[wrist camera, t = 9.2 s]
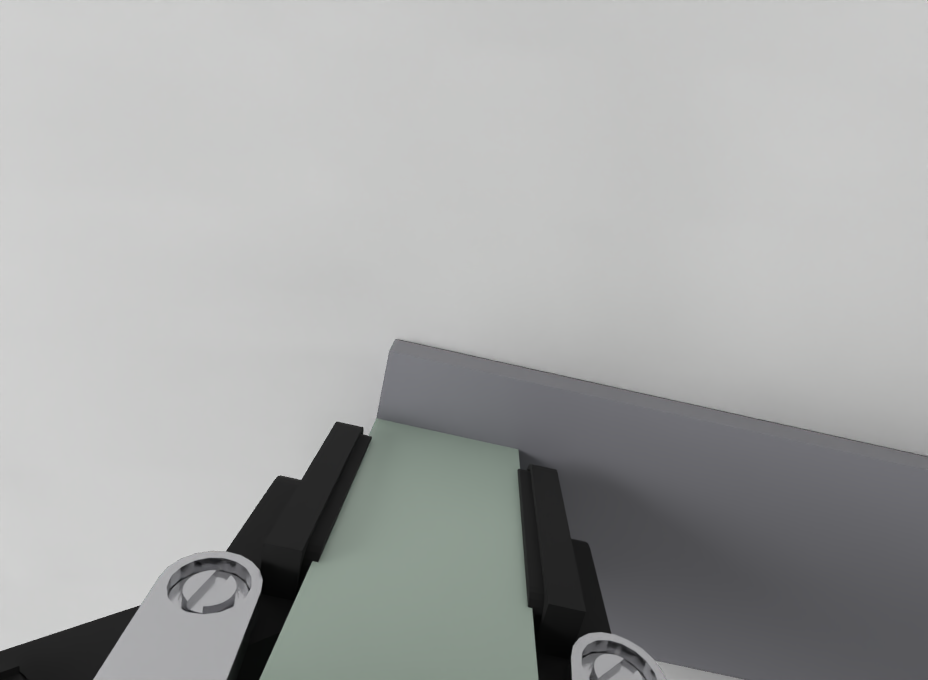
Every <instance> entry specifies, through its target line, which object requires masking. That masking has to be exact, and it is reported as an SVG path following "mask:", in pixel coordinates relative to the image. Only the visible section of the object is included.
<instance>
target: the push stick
mask: <svg viewBox="0 0 928 680" xmlns="http://www.w3.org/2000/svg"><path fill="white" fill-rule="evenodd" d="M369 436H372V439H371V442H370V444H369V446H368V448H367V451H366V453H365V455H364V458H363V460H362V462H361V465H360V467H359V469H358V472H357V474H356V476H355V478H354V481H353V483H352V485H351V488H350V490H349V492H348V495H347V497H346V499H345V502H344V504H343V506H342V508H341V511H340V513H339V515H338V518H337V520H336V522H335V525H334V527H333V529H332V532H331V534H330V536H329V539H328V541H327V543H326V545H325V548H324V550H323V552H322V555H321V557H320V559H319V562H314V561H312V563H311V566H310V568H309V570H308V572H307V575H306V577H305V579H304V581H303V583H302V586H301V588H300V590H299V592H298V595H297V597H296V599H295V601H294V604H293V606H292V608H291V610H290V612H289V615H288V617H287V619H286V621H285V624H284V626H283V628H282V630H281V632H280V635H279V637H278V639H277V641H276V644H275V646H274V648H273V650H272V653H271V655H270V657H269V659H268V661H267V664H266V666H265V668H264V670H263V673H262V675H261V677H260V679H259V680H538V669H537V658H536V646H535V635H534V623H533V612H532V608H529V607H528V602H527V589H526V576H525V563H524V550H523V537H522V524H521V511H520V497H519V484H518V471H517V470H518V469H523V470H527V468H528V466H529V464H533V465H538V466H542V467H547V468H551V469H556V470H557V472H558V477H559V482H560V487H561V492H562V496H563V501H564V506H565V511H566V516H567V521H568V526H569V531H570V536H571V539H576V540H580V541H585V542H587V543H588V544H589V547H590V549H591V553H592V557H593V561H594V565H595V569H596V574H597V578H598V582H599V586H600V590H601V594H602V598H603V602H604V606H605V610H606V614H607V618H608V622H609V626H610V630H611V634H615V635H617V636H620V637H622V638H625V639H627V640H629V641H631V642H633V643H634V644H636V645H637V646H639V647H640V648H642V649H643V650H644V651H645V652H646V653H648V654H649V655H650V656H651V657H652V658H653V659H654V660H656V661H660V662H665V663H670V664H674V665H679V666H684V667H688V668H693V669H698V670H703V671H707V672H712V673H717V674H721V675H726V676H731V677H735V678H740V679H745V680H928V457H925V456H921V455H916V454H912V453H907V452H903V451H898V450H894V449H889V448H885V447H880V446H876V445H871V444H867V443H862V442H858V441H853V440H849V439H844V438H840V437H835V436H831V435H826V434H822V433H817V432H813V431H808V430H803V429H799V428H794V427H790V426H785V425H781V424H776V423H772V422H767V421H763V420H758V419H754V418H749V417H745V416H740V415H736V414H731V413H727V412H722V411H718V410H713V409H709V408H704V407H700V406H695V405H691V404H686V403H681V402H677V401H672V400H668V399H663V398H659V397H654V396H650V395H645V394H641V393H636V392H632V391H627V390H623V389H618V388H614V387H609V386H605V385H600V384H596V383H591V382H587V381H582V380H578V379H573V378H569V377H564V376H559V375H555V374H550V373H546V372H541V371H537V370H532V369H528V368H523V367H519V366H514V365H510V364H505V363H501V362H496V361H492V360H487V359H483V358H478V357H474V356H469V355H465V354H460V353H456V352H451V351H447V350H442V349H437V348H433V347H428V346H424V345H419V344H415V343H410V342H406V341H401V340H397V339H395V341H394V343H393V345H392V347H391V349H390V351H389V355H388V360H387V366H386V371H385V376H384V382H383V387H382V392H381V397H380V403H379V408H378V413H377V418H376V421H375V423H374V425H373V427H372V430H371V432H370V434H369Z"/></svg>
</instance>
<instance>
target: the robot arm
mask: <svg viewBox="0 0 928 680" xmlns="http://www.w3.org/2000/svg"><path fill="white" fill-rule="evenodd" d="M371 439H372V436H367V435H363V427H359V426H354V425H350V424H345V423H341V422H336V423H335V424H334V426H333V428H332V430H331V431H330V433H329V435H328V436H327V438H326V440H325V441H324V443H323V445H322V446H321V448H320V450H319V451H318V453H317V455H316V456H315V458H314V460H313V461H312V463H311V465H310V466H309V468H308V470H307V471H306V473H305V475H304V476H303V478H302V480H298V479H294V478H289V477H285V476H278V477H277V478H276V479H275V480H274V481H273V483H272V484H271V486H270V487H269V489H268V490H267V492H266V493H265V495H264V496H263V498H262V499H261V501H260V502H259V504H258V505H257V506H256V508H255V509H254V511H253V512H252V514H251V515H250V517H249V518H248V520H247V521H246V523H245V524H244V526H243V527H242V529H241V530H240V531H239V533H238V534H237V536H236V537H235V539H234V540H233V542H232V543H231V545H230V546H229V548H228V549H227V551H226V552H224V551H208V552H202V553H195V554H193V555H190V556H187V557H184V558H181V559H180V560H178V561H176V562H175V563H173V564H172V565H170V566H168V567H167V568H166V570H165V571H164V572H163V573H162V574H161V575H160V576H159V577H158V579H157V581H156V582H155V584H154V585H153V587H152V588H151V590H150V592H149V593H148V595H147V596H146V598H145V599H144V601H143V602H142V604H141V605H140V606H137V607H134V608H131V609H128V610H125V611H122V612H119V613H115V614H112V615H109V616H106V617H103V618H100V619H97V620H94V621H91V622H88V623H85V624H82V625H79V626H76V627H73V628H70V629H67V630H64V631H61V632H58V633H55V634H52V635H49V636H46V637H43V638H39V639H36V640H33V641H30V642H27V643H24V644H21V645H18V646H15V647H12V648H9V649H6V650H3V651H0V680H259V679H260V677H261V675H262V673H263V670H264V668H265V666H266V664H267V661H268V659H269V657H270V655H271V653H272V650H273V648H274V646H275V644H276V641H277V639H278V637H279V635H280V632H281V630H282V628H283V626H284V624H285V621H286V619H287V617H288V615H289V612H290V610H291V608H292V606H293V604H294V601H295V599H296V597H297V595H298V592H299V590H300V588H301V586H302V583H303V581H304V579H305V577H306V575H307V572H308V570H309V568H310V566H311V563H312V561H314V562H319V559H320V557H321V555H322V552H323V550H324V548H325V545H326V543H327V541H328V539H329V536H330V534H331V532H332V529H333V527H334V525H335V522H336V520H337V518H338V515H339V513H340V511H341V508H342V506H343V504H344V502H345V499H346V497H347V495H348V492H349V490H350V488H351V485H352V483H353V481H354V478H355V476H356V474H357V472H358V469H359V467H360V465H361V462H362V460H363V458H364V455H365V453H366V451H367V448H368V446H369V444H370V442H371ZM517 471H518V484H519V497H520V511H521V524H522V537H523V550H524V563H525V576H526V589H527V602H528V607H529V608H532V612H533V623H534V635H535V646H536V658H537V669H538V680H666V678H665V675H664V673H663V671H662V670H661V668H660V667H659V666H658V664H657V663H656V661H655V660H654V659H653V658H652V657H651V656H650V655H649V654H648V653H646V652H645V651H644V650H643V649H642V648H640V647H639V646H637V645H636V644H634V643H633V642H631V641H629V640H627V639H625V638H622V637H620V636H617V635H615V634H611V630H610V626H609V622H608V618H607V614H606V610H605V606H604V602H603V598H602V594H601V590H600V586H599V582H598V578H597V574H596V569H595V565H594V561H593V557H592V553H591V549H590V547H589V544H588V543H587V542H585V541H580V540H576V539H571V536H570V531H569V526H568V521H567V516H566V511H565V506H564V501H563V496H562V492H561V487H560V482H559V477H558V472H557V470H556V469H551V468H547V467H542V466H538V465H533V464H529V466H528V468H527V470H523V469H518V470H517Z"/></svg>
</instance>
